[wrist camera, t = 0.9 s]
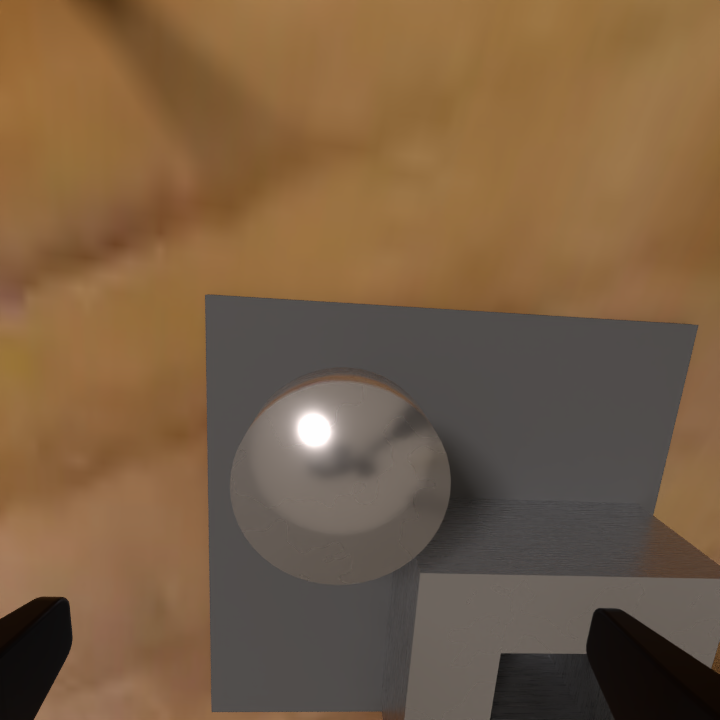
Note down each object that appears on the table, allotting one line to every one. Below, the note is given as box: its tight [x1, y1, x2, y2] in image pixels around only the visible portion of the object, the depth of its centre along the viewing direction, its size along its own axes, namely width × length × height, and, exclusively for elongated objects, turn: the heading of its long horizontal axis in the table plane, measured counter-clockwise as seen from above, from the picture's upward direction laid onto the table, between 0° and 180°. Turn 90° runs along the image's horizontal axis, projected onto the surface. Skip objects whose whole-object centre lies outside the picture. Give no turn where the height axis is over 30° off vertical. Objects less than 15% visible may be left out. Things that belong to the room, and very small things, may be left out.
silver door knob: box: [230, 367, 451, 585], centre depth 14 cm, size 6×6×6 cm
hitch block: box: [381, 497, 720, 720], centre depth 18 cm, size 12×12×5 cm
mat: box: [205, 295, 698, 712], centre depth 19 cm, size 22×22×1 cm
